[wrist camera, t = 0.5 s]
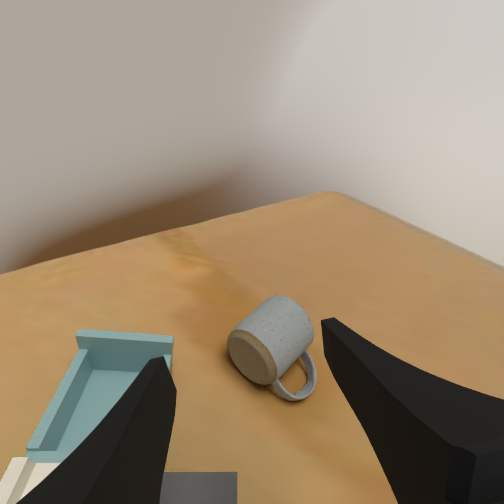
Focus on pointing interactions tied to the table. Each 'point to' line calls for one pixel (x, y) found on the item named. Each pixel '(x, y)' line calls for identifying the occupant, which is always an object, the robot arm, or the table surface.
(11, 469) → the cream piece
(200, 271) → the table surface
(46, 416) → the bin
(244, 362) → the ceramic mug
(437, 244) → the table surface
